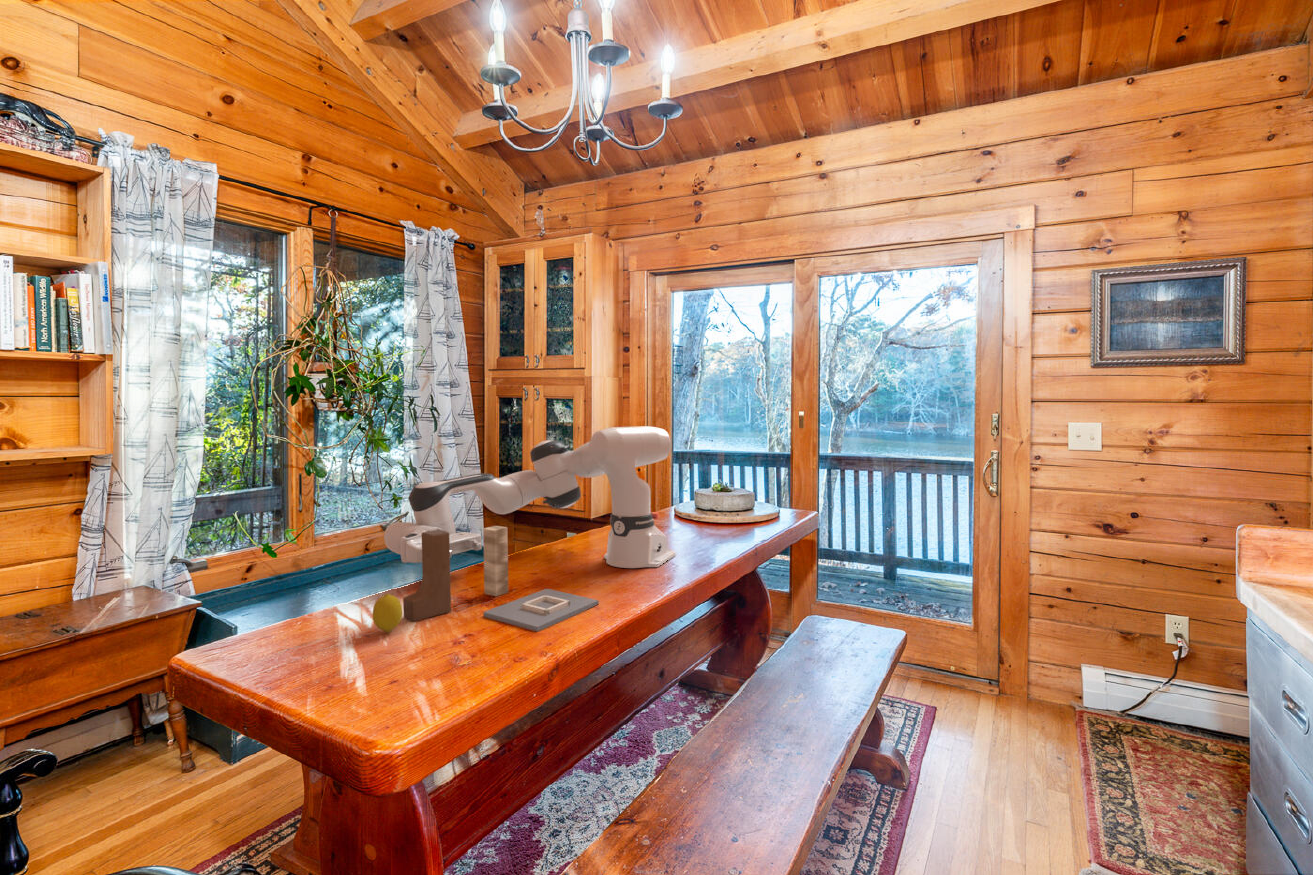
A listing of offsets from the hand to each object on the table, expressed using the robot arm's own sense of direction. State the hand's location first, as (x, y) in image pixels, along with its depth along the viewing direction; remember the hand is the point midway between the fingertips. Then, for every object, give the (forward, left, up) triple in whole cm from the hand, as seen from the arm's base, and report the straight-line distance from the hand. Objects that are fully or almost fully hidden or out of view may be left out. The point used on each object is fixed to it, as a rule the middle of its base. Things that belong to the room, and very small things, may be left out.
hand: (465, 550), depth 160 cm
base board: (+3, +29, -9) cm, 30 cm away
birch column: (0, +11, -9) cm, 14 cm away
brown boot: (+19, +10, -9) cm, 23 cm away
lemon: (+30, +12, -9) cm, 33 cm away
